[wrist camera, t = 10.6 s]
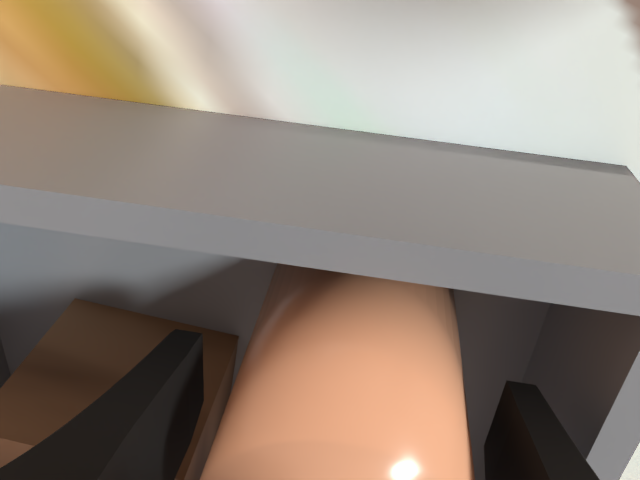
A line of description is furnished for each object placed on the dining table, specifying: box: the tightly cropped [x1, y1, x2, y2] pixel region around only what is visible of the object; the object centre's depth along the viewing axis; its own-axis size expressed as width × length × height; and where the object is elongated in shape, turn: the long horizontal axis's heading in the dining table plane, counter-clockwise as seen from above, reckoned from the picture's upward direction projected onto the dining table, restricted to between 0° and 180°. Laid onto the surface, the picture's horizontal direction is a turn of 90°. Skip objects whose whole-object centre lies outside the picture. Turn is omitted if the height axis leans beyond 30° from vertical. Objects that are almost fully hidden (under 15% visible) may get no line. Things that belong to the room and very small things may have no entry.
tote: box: [0, 85, 640, 480], centre depth 16 cm, size 14×18×5 cm
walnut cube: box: [0, 298, 239, 480], centre depth 16 cm, size 5×5×5 cm
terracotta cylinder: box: [200, 263, 475, 480], centre depth 13 cm, size 5×5×7 cm
